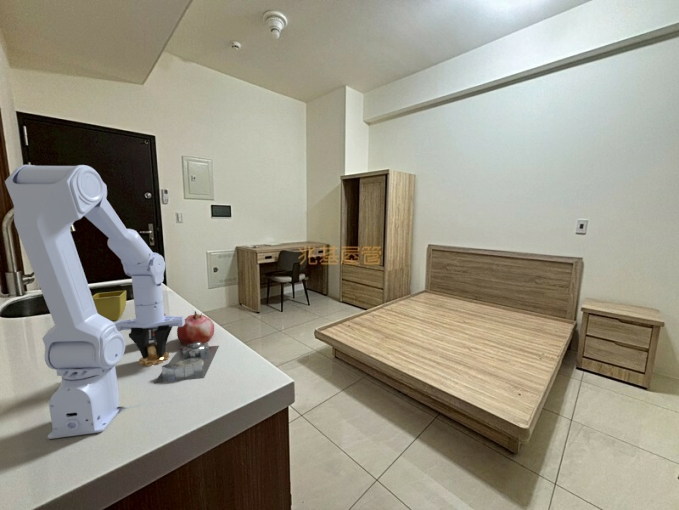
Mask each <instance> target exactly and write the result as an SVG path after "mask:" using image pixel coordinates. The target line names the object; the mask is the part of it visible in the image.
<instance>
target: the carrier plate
mask: <svg viewBox="0 0 679 510" xmlns="http://www.w3.org/2000/svg"><path fill="white" fill-rule="evenodd" d="M219 347H220V345H211V346H210V345H209V352H206V353H205V355H203V356H196V357H195V358H190V357H187V358H185V357H184V355H183V348H179V349H178V350H177V351H176V353H175V354H174V355H173V357H172V358H171V360H170V361H169V362H168V363H167V364H169V365H171V366H184V365H189V364H192V363H195V362H198V361H200V362H202V370H203V372H202V373H200V374H198V375H195V376H192V377H189V378H184V379H167V378H165V377H163V374H162V372H160V374H159V375H158V377H157V378H156V379H155V381H154V382H153V384H160V383H161V384H163V383H169V382H180V381H188V380H189V381H190V380H199V379H205V378H206V376H207V373H208V371H209V368H210V366H211V365H212V362H213V360H214V358H215V356H216V354H217V351H218V349H219Z"/></svg>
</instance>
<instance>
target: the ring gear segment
mask: <svg viewBox="0 0 679 510" xmlns="http://www.w3.org/2000/svg"><path fill="white" fill-rule="evenodd" d="M202 372H203V370H202V362H200V361H198V362H195V363H192V364H189V365H184V366H171V365H169V364H168V363H166V364H164V365H161V373H162V374H163V377H165V378H167V379H184V378H189V377H192V376H195V375H198V374H200V373H202Z"/></svg>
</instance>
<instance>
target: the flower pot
mask: <svg viewBox="0 0 679 510" xmlns="http://www.w3.org/2000/svg"><path fill="white" fill-rule="evenodd" d="M92 298H93V301H94V304H95V307H96V310H97V313H98V314H99V315H101V316H103V317H105V318H107V319H109V320H110V321H112V322H114V321H119V320H120V318H121V317H122V316H123V314H124V313H125V309H126V305H127V290H116V291H109V292H108V291H107V292H97V293H95V294H94V295H92Z"/></svg>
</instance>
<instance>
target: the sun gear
mask: <svg viewBox="0 0 679 510" xmlns="http://www.w3.org/2000/svg"><path fill="white" fill-rule="evenodd" d="M208 343H209V342H205V343H201V342H200V341H196V342H192V343H191V344H189V345H186V346H184V347H182V349H183V355H184V357H185V358H187V357H190V358H195V357H196V356H203V355H205V353H206V352H209V346H210V345H209V344H208Z"/></svg>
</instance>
